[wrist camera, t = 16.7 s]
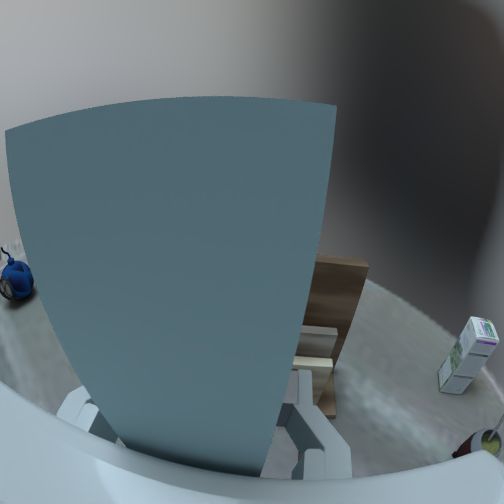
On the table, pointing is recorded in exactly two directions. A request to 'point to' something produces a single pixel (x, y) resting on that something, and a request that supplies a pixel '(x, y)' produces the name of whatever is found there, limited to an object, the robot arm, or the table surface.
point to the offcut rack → (334, 308)
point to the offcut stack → (316, 355)
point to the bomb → (16, 279)
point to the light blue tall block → (178, 261)
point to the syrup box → (467, 355)
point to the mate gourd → (482, 442)
